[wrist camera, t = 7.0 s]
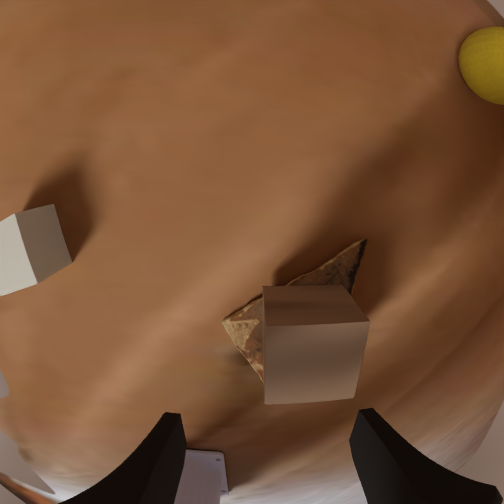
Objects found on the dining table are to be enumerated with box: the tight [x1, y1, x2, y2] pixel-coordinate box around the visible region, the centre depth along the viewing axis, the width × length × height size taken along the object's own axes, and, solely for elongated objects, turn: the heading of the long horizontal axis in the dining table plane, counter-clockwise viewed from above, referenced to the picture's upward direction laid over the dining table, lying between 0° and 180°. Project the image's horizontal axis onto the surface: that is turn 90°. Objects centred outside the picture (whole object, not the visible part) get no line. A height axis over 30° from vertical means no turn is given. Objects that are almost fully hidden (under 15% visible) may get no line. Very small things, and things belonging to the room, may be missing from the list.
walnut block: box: [262, 285, 370, 405], centre depth 17 cm, size 5×5×5 cm
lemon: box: [458, 27, 504, 105], centre depth 11 cm, size 6×6×8 cm
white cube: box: [0, 204, 72, 296], centre depth 16 cm, size 4×4×4 cm
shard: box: [222, 238, 367, 383], centre depth 20 cm, size 11×8×2 cm
